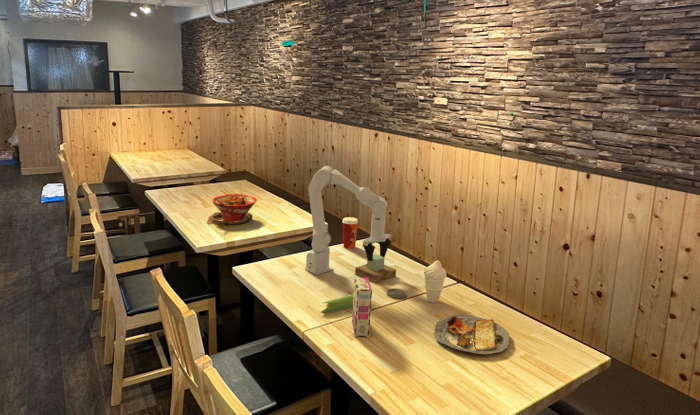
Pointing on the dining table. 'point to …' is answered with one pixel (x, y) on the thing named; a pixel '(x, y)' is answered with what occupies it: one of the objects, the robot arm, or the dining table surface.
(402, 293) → the grey flat round pebble
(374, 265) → the cube
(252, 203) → the stew
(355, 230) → the paper cup
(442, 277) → the soft serve ice cream cone
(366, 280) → the candy bar box
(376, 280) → the base block
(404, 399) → the dining table surface
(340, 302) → the edible corn
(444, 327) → the food plate
